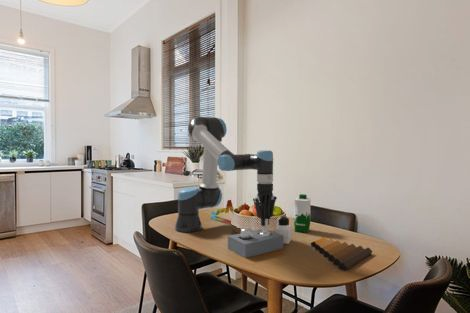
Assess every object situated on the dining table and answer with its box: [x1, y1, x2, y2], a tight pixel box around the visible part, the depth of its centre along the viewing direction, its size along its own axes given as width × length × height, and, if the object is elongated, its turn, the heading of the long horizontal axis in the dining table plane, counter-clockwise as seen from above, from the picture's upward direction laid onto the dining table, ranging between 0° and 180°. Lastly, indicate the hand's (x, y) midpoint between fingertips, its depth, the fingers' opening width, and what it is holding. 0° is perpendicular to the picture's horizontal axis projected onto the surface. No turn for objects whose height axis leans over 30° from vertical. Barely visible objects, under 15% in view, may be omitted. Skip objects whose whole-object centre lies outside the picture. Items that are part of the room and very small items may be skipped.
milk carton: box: [293, 193, 311, 233], centre depth 170 cm, size 9×9×20 cm
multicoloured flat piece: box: [210, 199, 235, 227], centre depth 187 cm, size 30×3×15 cm, turn 40°
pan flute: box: [310, 236, 373, 272], centre depth 133 cm, size 25×3×25 cm
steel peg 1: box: [240, 227, 253, 240], centre depth 137 cm, size 5×5×5 cm
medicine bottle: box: [274, 216, 292, 245], centre depth 151 cm, size 7×7×12 cm
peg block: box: [227, 228, 284, 259], centre depth 141 cm, size 14×22×6 cm, turn 124°
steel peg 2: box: [260, 231, 270, 236], centre depth 144 cm, size 5×5×5 cm
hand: (265, 232), depth 143 cm, fingers closed
